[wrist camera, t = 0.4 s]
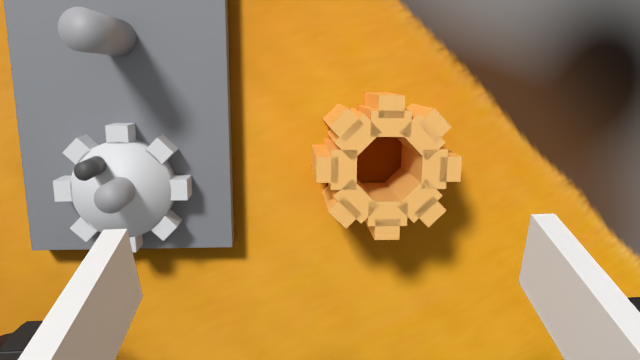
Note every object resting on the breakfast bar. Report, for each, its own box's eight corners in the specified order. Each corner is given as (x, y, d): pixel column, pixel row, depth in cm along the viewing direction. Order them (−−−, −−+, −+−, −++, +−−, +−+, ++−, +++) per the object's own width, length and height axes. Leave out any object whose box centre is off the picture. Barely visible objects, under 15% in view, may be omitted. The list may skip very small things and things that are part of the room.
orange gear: (431, 214, 34) (456, 238, 29) (311, 216, 33) (315, 241, 28) (438, 92, 32) (466, 95, 27) (311, 91, 32) (316, 95, 27)
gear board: (234, 239, 33) (221, 282, 26) (43, 242, 32) (-22, 287, 25) (222, -195, 28) (202, -281, 21) (-6, -205, 27) (-102, -298, 20)
